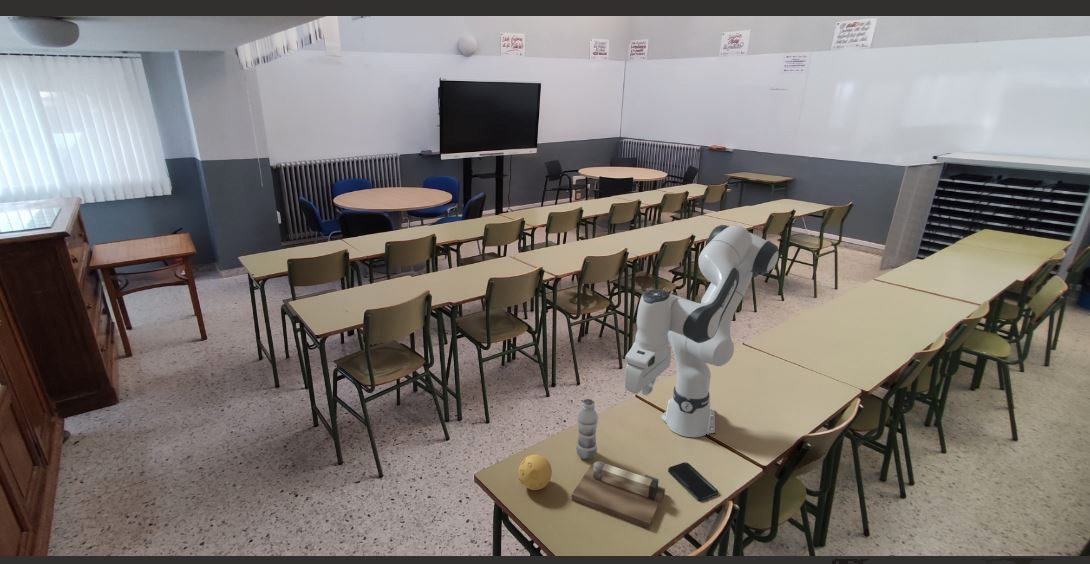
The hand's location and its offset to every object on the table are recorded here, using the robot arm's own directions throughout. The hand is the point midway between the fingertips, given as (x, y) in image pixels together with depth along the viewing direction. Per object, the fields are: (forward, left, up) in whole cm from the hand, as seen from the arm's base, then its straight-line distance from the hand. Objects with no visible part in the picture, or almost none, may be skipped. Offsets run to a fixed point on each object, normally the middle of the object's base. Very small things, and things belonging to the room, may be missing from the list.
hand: (647, 392), depth 146 cm
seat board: (+8, -3, -31) cm, 32 cm away
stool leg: (+5, -3, -29) cm, 30 cm away
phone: (-8, +14, -32) cm, 36 cm away
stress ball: (+16, -27, -31) cm, 44 cm away
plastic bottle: (-4, -19, -31) cm, 37 cm away
